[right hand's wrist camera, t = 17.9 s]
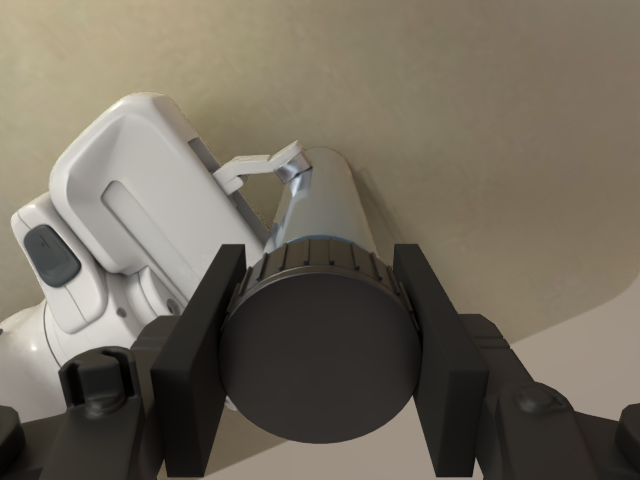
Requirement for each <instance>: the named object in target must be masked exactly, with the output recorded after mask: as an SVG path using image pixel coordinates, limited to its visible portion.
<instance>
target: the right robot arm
mask: <svg viewBox="0 0 640 480" xmlns="http://www.w3.org/2000/svg"><path fill="white" fill-rule="evenodd" d="M246 271H247V265H246V250H245V244H222V245H221V247H220V249H219V250H218V252H217V254H216V256H215V257H214V259H213V261H212V263H211V264H210V266H209V268H208V269H207V271H206V273H205V275H204V276H203V278H202V280H201V282H200V283H199V285H198V287H197V289H196V290H195V292H194V294H193V296H192V297H191V299H190V301H189V303H188V304H187V306H186V308H185V310H184V311H183V313H182V315H160V316H158V317H157V318H156V319H154V320H153V321H151V322H150V323H148V324H147V325H146V326H145V327H144V328H143V330H142V331H141V333H140V334H139V335H138V337H137V340H135V341H134V343H133V344H132V346H131V347H130V349H128V348H125V347H121V346H103V347H99V348H94V349H90V350H87V351H85V352H83V353H80V354H78V355H76V356H74V357H73V358H71V359H70V360H69V361H67V362H66V363H64V365H63V366H62V367H61V368H60V370H59V371H58V375H59V379H60V383H61V387H62V391H63V395H64V399H65V402H66V406H67V410H66V412H65V413H63V414H59V415H56V416H52V417H47V418H43V419H38V420H34V421H29V422H25V423H21V421H20V417H19V414H18V412H17V411H16V410H15V409H13V408H12V407H9V406H3V405H0V480H157V475H158V472H159V470H160V467H161V465H162V463H163V460H164V459H165V465H166V471H167V477H204V473H205V470H206V467H207V463H208V460H209V456H210V453H211V449H212V446H213V442H214V439H215V435H216V432H217V428H218V425H219V421H220V418H221V415H222V411H223V408H224V404H225V401H226V397H227V394H226V392H225V389H224V387H223V385H222V383H221V379H220V375H219V368H218V358H217V348H218V343H219V339H220V335H221V334H220V331H221V328H222V326H223V323H224V320H225V318H226V314H225V313H226V310H227V308H228V305H229V303H230V300H231V298H232V295H233V293H234V290H235V288H236V285H237V283H240V284H241V282H242V280H243V278H244V277H245V274H246ZM393 273H394V276H395V277H396V279H397V281H398V282H399V283H400V282H402V284H403V286H404V288H405V291H406V293H407V296H408V299H409V301H410V304H411V306H412V309H413V311H414V313H413V314H414V317H415V320H416V322H417V325H418V327H419V330H420V332H419V336H420V340H421V345H422V366H421V374H420V378H419V382H418V384H417V386H416V389H415V391H414V393H413V398H414V401H415V405H416V408H417V412H418V415H419V419H420V422H421V426H422V429H423V433H424V436H425V440H426V443H427V447H428V450H429V454H430V457H431V460H432V464H433V467H434V471H435V474H436V477H472V476H473V469H474V463H475V458H476V459H477V461H478V464H479V466H480V468H481V471H482V473H483V476H484V477H483V480H640V403H638V404H632V405H628V406H627V407H626V408H625V409H623V410H622V413H621V416H620V420H619V421H614V420H610V419H605V418H601V417H596V416H592V415H587V414H584V413H580V412H577V411H574V409H573V407H572V406H571V404H570V403H569V401H568V400H567V398H566V397H564V396H563V395H562V394H560V393H559V392H558V391H557V390H555V389H553V388H551V387H549V386H547V385H545V384H543V383H539V382H535V381H534V380H533V378H532V377H531V376H530V374H529V373H528V371H527V370H526V368H525V367H524V366H523V364H522V363H521V361H520V360H519V358H518V357H517V356H516V354H515V353H514V351H513V350H512V349H510V346H509V344H508V343H507V341H506V340H505V339H503V336H502V334H501V333H500V331H499V330H498V328H497V327H496V325H495V324H494V323H492V322H491V321H489V320H488V319H486V318H485V317H483V316H482V315H481V314H457V312H456V310H455V308H454V307H453V305H452V303H451V301H450V300H449V298H448V296H447V294H446V293H445V291H444V289H443V287H442V286H441V284H440V282H439V280H438V279H437V277H436V275H435V273H434V272H433V270H432V268H431V266H430V265H429V263H428V261H427V260H426V258H425V256H424V254H423V253H422V251H421V249H420V247H419V246H418V244H395V246H394V261H393Z"/></svg>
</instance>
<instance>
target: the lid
mask: <svg viewBox="0 0 640 480" xmlns="http://www.w3.org/2000/svg"><path fill="white" fill-rule="evenodd" d="M413 313H414V311H413V309H412V306H411V304H410V301H409V299H408V296H407V293H406V291H405V288H404V286H403V284H402V282H400V283H399V282H398V281H397V279H396V277H395V276H394V273H393V270H392V267H391V266H390V265H389V266H386V265H385V264H384V263H383V262H382V261H381V260H380V259H378V258H377V257H376V254H375V253H374V252H371V253H369V252H368V251H366V250H364V249H362V248H360V247H357V246H356V244H355V243H353V242H351V244H350V243H346V242H342V241H337V240H333V238H331V237H329V239H310V238H309V237H308V238H306V239H305V240H303V241H298V242H294V243H290V244H287V242H286V243H284V244H283V246H282V247H280V248H278V249H276V250H274V251H272V252H270V253H269V254H268V253H267V252H266V253H264V254H263V257H262V259H260V260H259V261H258V262H257V263H256V264H255V265H254V266H253V267H251V266H249V267H248V269H247V271H246V274H245V277H244V278H243V280H242V282H241V284H240V283H237V285H236V288H235V290H234V293H233V295H232V298H231V300H230V303H229V305H228V308H227V310H226V313H225V314H226V318H225V320H224V323H223V326H222V328H221V331H220V334H221V335H220V339H219V343H218V348H217V358H218V368H219V375H220V379H221V383H222V385H223V387H224V389H225V392H226V394H227V395H228V397H229V398H230V400H231V402H232V403H233V404H234V405H235V407H236V408H237V409H238V410H239V411H240V412H241V413H242V414H243V415H244V416H245V417H246V418H247V419H248V420H250V421H251V422H252V423H254V424H255V425H257V426H258V427H260V428H262V429H263V430H265V431H267V432H269V433H271V434H274V435H276V436H278V437H282V438H285V439H288V440H292V441H297V442H302V443H312V444H328V443H337V442H343V441H348V440H352V439H355V438H358V437H361V436H364V435H366V434H368V433H371V432H373V431H375V430H376V429H378V428H380V427H382V426H383V425H385V424H386V423H387V422H389V421H390V420H391V419H393V418H394V417H395V416H396V415H397V414H398V413H399V412H400V411H401V410H402V409H403V408H404V406H405V405H406V404H407V402H408V401H409V400H410V398H411V396H412V395H413V393H414V391H415V389H416V386H417V384H418V382H419V378H420V374H421V366H422V345H421V340H420V336H419V332H420V330H419V327H418V325H417V322H416V320H415V317H414V314H413Z"/></svg>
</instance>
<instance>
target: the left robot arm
mask: <svg viewBox="0 0 640 480" xmlns="http://www.w3.org/2000/svg"><path fill="white" fill-rule="evenodd" d="M311 166H312V161H311V159H310V158H309V156H308V154H307V153H306V151H305V150H304V148H303V146H302V145H301V144H300V142H299V141H298V140H296V141H294V142H293V143H291V144H290V145H288V146H287V147H285V148H284V149H282V150H281V151H279V152H278V153H276V154H275V155H273V156H271V155H250V156H236V157H235V158H233V159H232V160H230V161H229V162H227V163H226V164H224V165H223V166H221V165H220V163H219V162H218V160H217V159H216V158H215V156H214V155H213V154H212V152H211V151H210V150H209V148H208V147H207V145H206V144H205V143H204V141H203V140H202V139H201V137H200V136H199V134H198V133H197V132H196V130H195V129H194V128H193V126H192V125H191V124H190V122H189V121H188V119H187V118H186V117H185V115H184V114H183V113H182V111H181V110H180V108H179V107H178V106H177V104H176V103H175V102H174V100H173V99H172V98H171V97H170V96H168V95H165V94H160V93H154V92H137V93H133V94H130V95H127V96H125V97H123V98H122V99H120V100H119V101H117V102H116V103H115V104H113V105H112V106H111V107H110V108H109V109H107V110H106V111H105V112H104V113H103V114H101V115H100V116H99V117H98V118H97V119H96V120H95V121H94V122H93V123H92V124H90V125H89V126H88V127H87V128H86V129H85V130H84V131H83V132H82V133H81V134H80V135H79V136H78V137H77V138H76V139H75V140H74V141H73V143H72V144H71V145H70V146H69V147H68V148H67V149H66V150H65V151H64V153H63V154H62V155H61V156H60V157H59V159H58V160H57V162H56V163H55V165H54V167H53V169H52V171H51V174H50V178H49V191H48V192H46V193H44V194H42V195H40V196H39V197H37V198H35V199H33V200H32V201H31V202H29V203H28V204H26V205H25V206H23V207H22V208H21V209H19V210H18V211H17V212H16V213H15V214H14V215H13V216H12V218H11V227H12V230H13V233H14V235H15V237H16V239H17V241H18V243H19V245H20V246H21V248H22V250H23V252H24V254H25V256H26V257H27V259H28V261H29V263H30V265H31V267H32V269H33V271H34V273H35V275H36V277H37V279H38V281H39V283H40V285H41V288H42V290H43V292H44V295H45V298H44V300H43V301H42V302H41V303H40V304H39V305H37V306H34V307H30V308H27V309H24V310H22V311H19V312H17V313H15V314H13V315H12V316H10V317H9V318H7V319H5V320H4V321H3V322H1V323H0V405H3V406H9V407H12V408H13V409H15V410H16V411H17V412H18V414H19V417H20V421H21V423H25V422H29V421H34V420H38V419H43V418H47V417H52V416H56V415H59V414H63V413H65V412H66V410H67V406H66V402H65V399H64V395H63V391H62V387H61V383H60V379H59V375H58V371H59V370H60V368H61V367H62V366H63V365H64V363H66V362H67V361H69V360H70V359H71V358H73V357H74V356H76V355H78V354H80V353H83V352H85V351H87V350H90V349H94V348H99V347H103V346H121V347H125V348H128V349H130V347H131V346H132V344H133V343H134V341H135V340H137V337H138V335H139V334H140V333H141V331H142V330H143V328H144V327H145V326H146V325H147V324H148V323H150V322H151V321H153V320H154V319H156V318H157V317H158V316H160V315H182V313H183V311H184V310H185V308H186V306H187V304H188V303H189V301H190V299H191V297H192V296H193V294H194V292H195V290H196V289H197V287H198V285H199V283H200V282H201V280H202V278H203V276H204V275H205V273H206V271H207V269H208V268H209V266H210V264H211V263H212V261H213V259H214V257H215V256H216V254H217V252H218V250H219V249H220V247H221V245H222V244H245V250H246V265H247V269H248V267H249V266H251V267H253V266H254V265H255V264H256V263H257V262H258V261H259V260H260V259H261V258H262V255H263V252H264V249H265V245H266V242H267V239H268V236H269V233H270V232H269V230H268V229H267V228H266V226H265V225H264V223H263V222H262V221H261V219H260V218H259V217H258V215H257V214H256V213H255V211H254V210H253V208H252V207H251V206H250V204H249V203H248V202H247V200H246V199H245V197H244V196H243V195H242V193H241V192H240V191H239V188H240V187H242V186H243V185H244V184H245V182H246V181H247V180H248V178H249V174H260V173H274V172H276V173H277V175H278V176H279V178H280V179H281V180H282V182H283V183H284V184H286V183H287V182H289V181H290V180H292V179H293V178H294V177H295V175H296V173H302V172H304V171H306V170H307V169H309V168H310V167H311ZM224 405H225V406H226V407H227V408H229V409H230V410H231V411H237V410H238V409H237V408H236V407H235V405H234V404H233V403H232V402H231V400H230V398H229V397H228V395H227V397H226V401H225V404H224Z"/></svg>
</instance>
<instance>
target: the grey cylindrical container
mask: <svg viewBox="0 0 640 480" xmlns="http://www.w3.org/2000/svg"><path fill="white" fill-rule="evenodd" d="M306 153H307V154H308V156H309V158H310V159H311V161H312V166H311V167H310V168H309V169H307V170H306V171H304V172H302V173H296V175H295V177H294V178H293V179H292V180H290V181H289V182H287V183H286V184H285V187H284V191H283V194H282V197H281V200H280V203H279V206H278V209H277V212H276V215H275V218H274V221H273V224H272V227H271V230H270V233H269V236H268V239H267V242H266V245H265V249H264V252H263V254H264V253H266V252H267V253H268V254H269V253H270V252H272V251H274V250H276V249H278V248H280V247H282V246H283V244H284V243H286V242H287V244H290V243H294V242H298V241H303V240H305V239H306V238H308V237H309V238H310V239H329V237H331V238H333V240H337V241H342V242H346V243H350V244H351V242H353V243H355V244H356V246H357V247H360V248H362V249H364V250H366V251H368V252H369V253H371V252H374V253H375V254H376V257H377V258H378V259H380V257H379V254H378V251H377V248H376V245H375V242H374V239H373V236H372V233H371V230H370V227H369V224H368V221H367V218H366V215H365V212H364V209H363V206H362V203H361V200H360V197H359V194H358V191H357V188H356V185H355V182H354V179H353V176H352V173H351V170H350V167H349V165H348V163H347V161H346V160H345V158H344V157H343V156H342V155H341V154H339V153H338V152H336V151H335V150H332V149H329V148H325V147H316V148H311V149H309V150H306ZM262 257H263V255H262ZM261 259H262V258H261Z"/></svg>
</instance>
